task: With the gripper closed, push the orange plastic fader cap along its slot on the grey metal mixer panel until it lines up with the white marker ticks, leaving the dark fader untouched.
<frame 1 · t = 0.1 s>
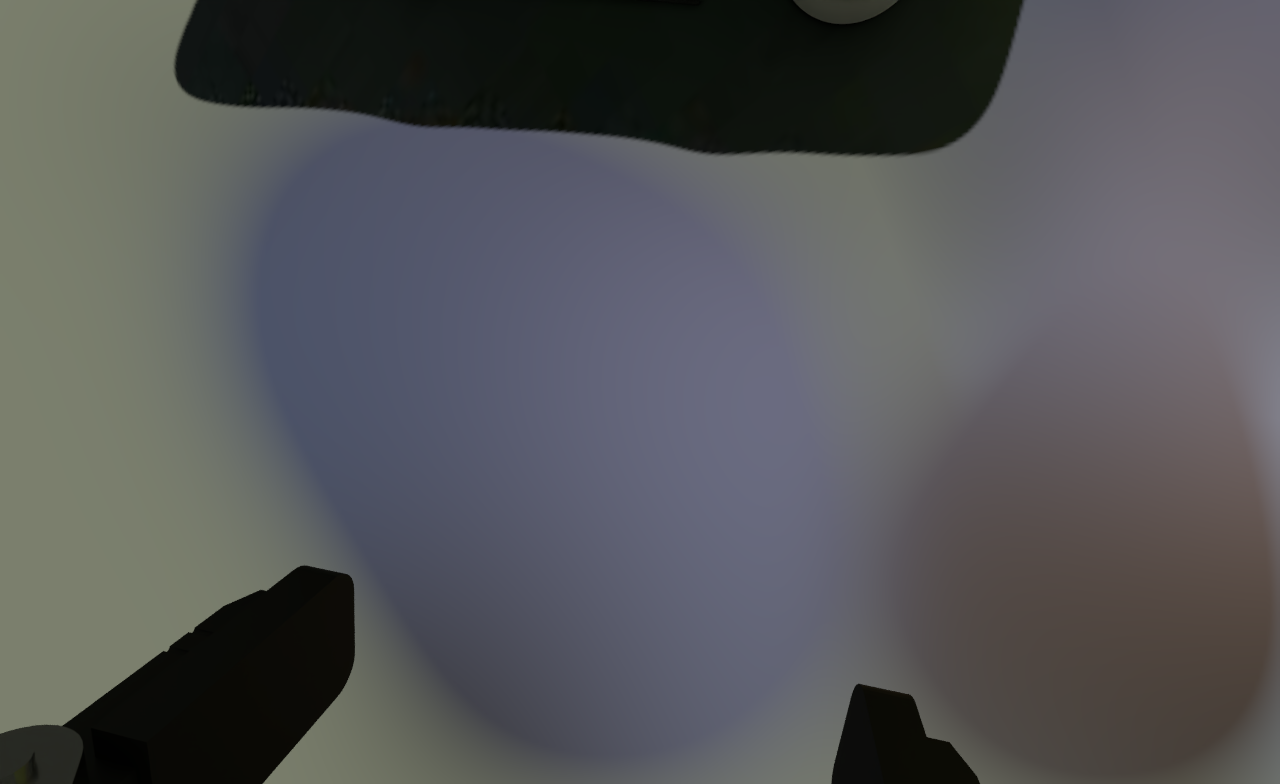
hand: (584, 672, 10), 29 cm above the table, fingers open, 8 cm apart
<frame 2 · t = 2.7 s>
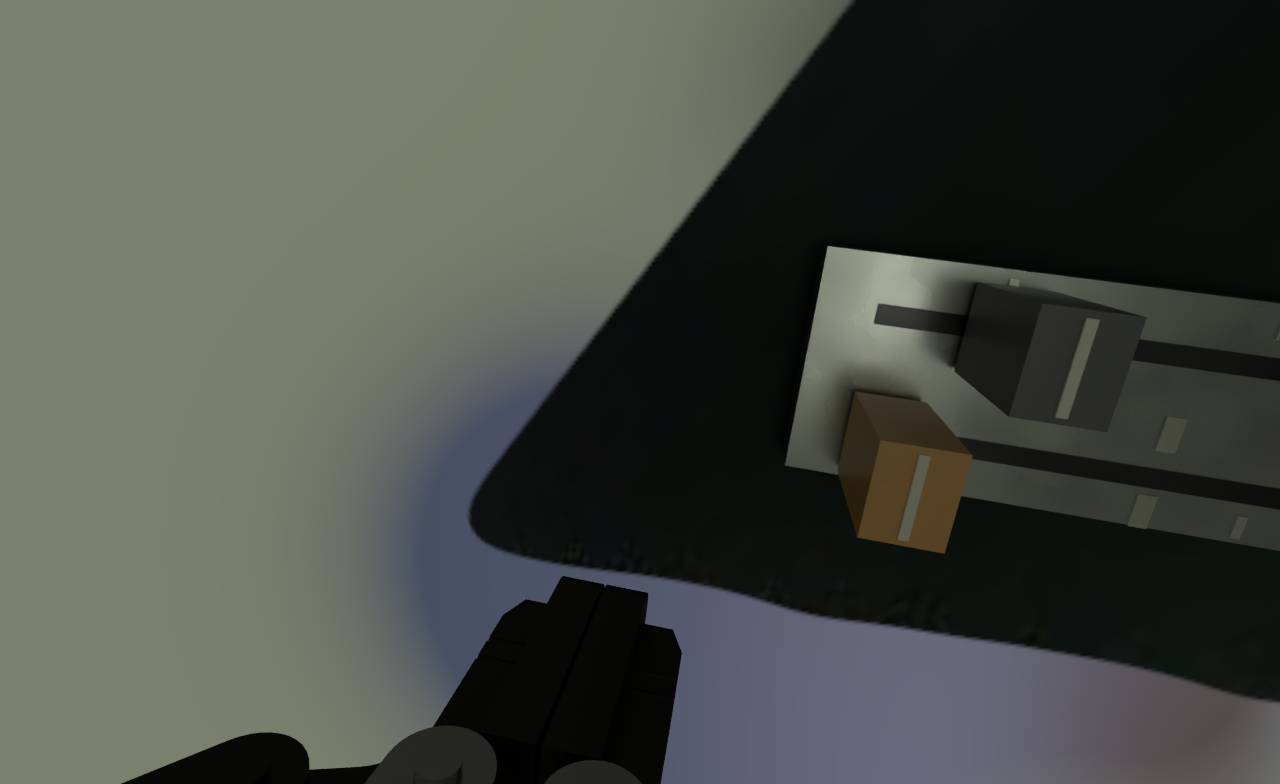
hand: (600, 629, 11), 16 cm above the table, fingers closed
fader: (895, 464, 20), point 5 cm above the table, slide at 0.0 cm
fader2: (1036, 349, 19), point 5 cm above the table, slide at 0.0 cm
console: (1052, 386, 24), on the table
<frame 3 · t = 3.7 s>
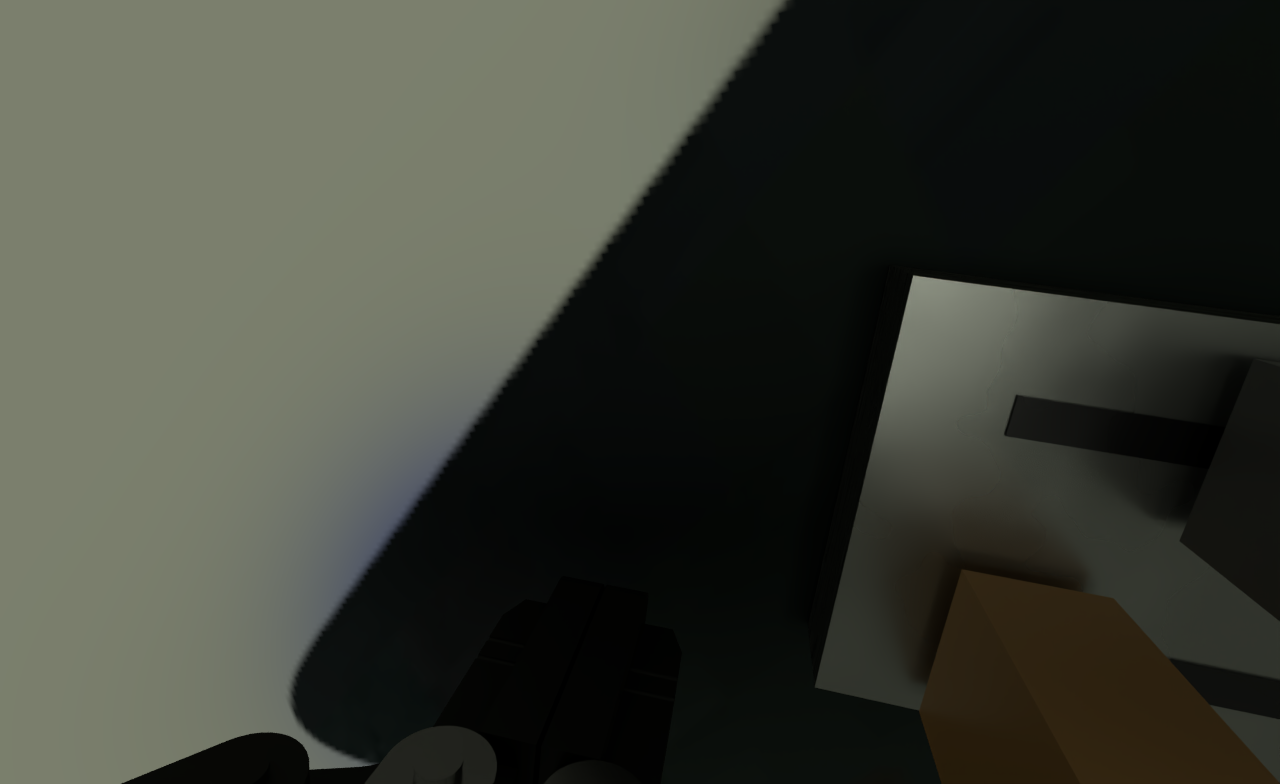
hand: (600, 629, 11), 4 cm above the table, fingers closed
fader: (1078, 779, 9), point 5 cm above the table, slide at 0.0 cm
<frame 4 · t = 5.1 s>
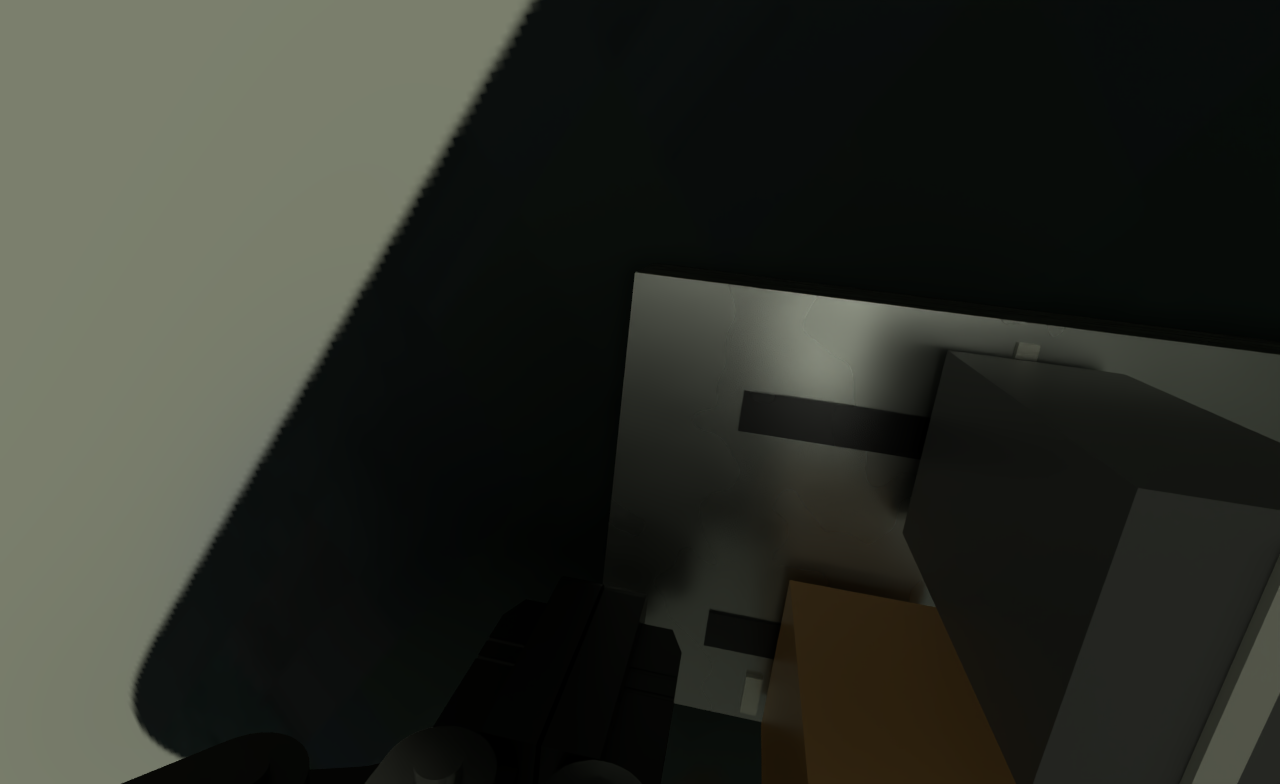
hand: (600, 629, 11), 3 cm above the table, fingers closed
fader2: (1089, 539, 7), point 5 cm above the table, slide at 0.0 cm
console: (1100, 536, 12), on the table
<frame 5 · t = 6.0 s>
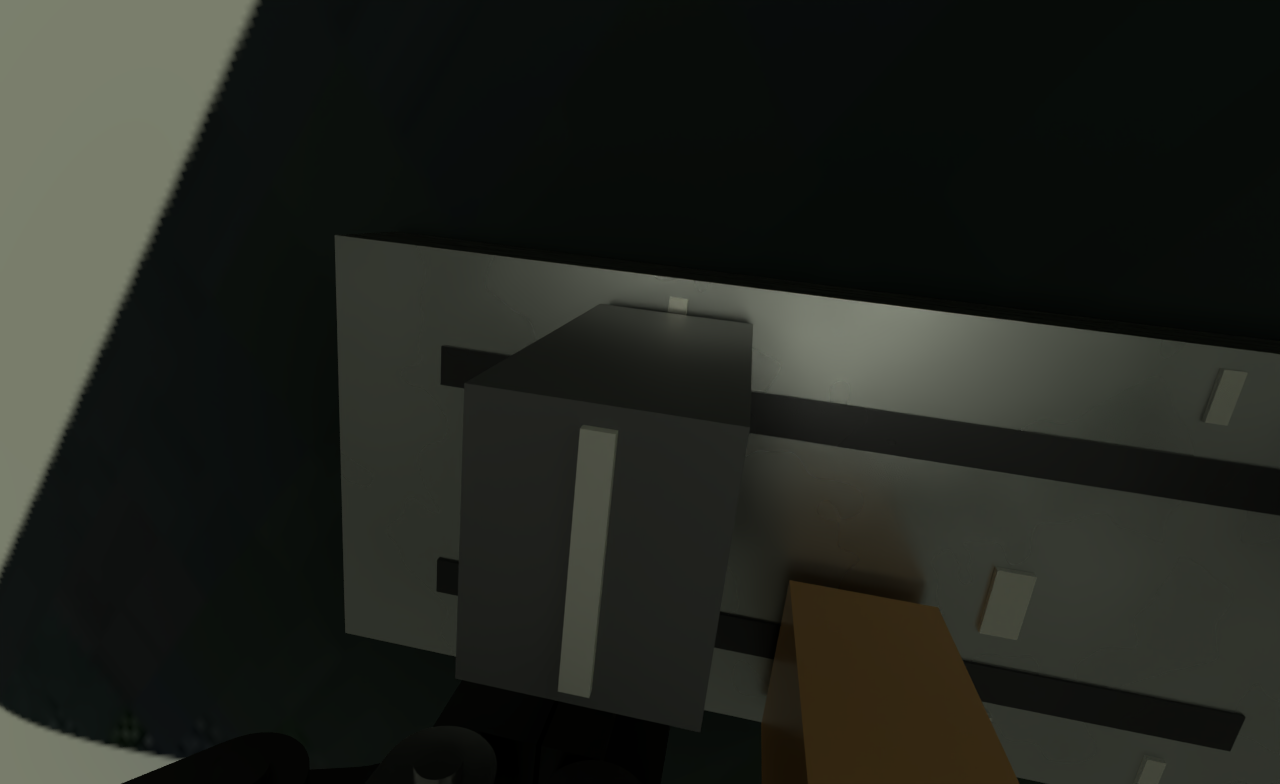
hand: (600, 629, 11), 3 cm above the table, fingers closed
fader2: (636, 463, 8), point 5 cm above the table, slide at 0.0 cm
console: (817, 489, 13), on the table
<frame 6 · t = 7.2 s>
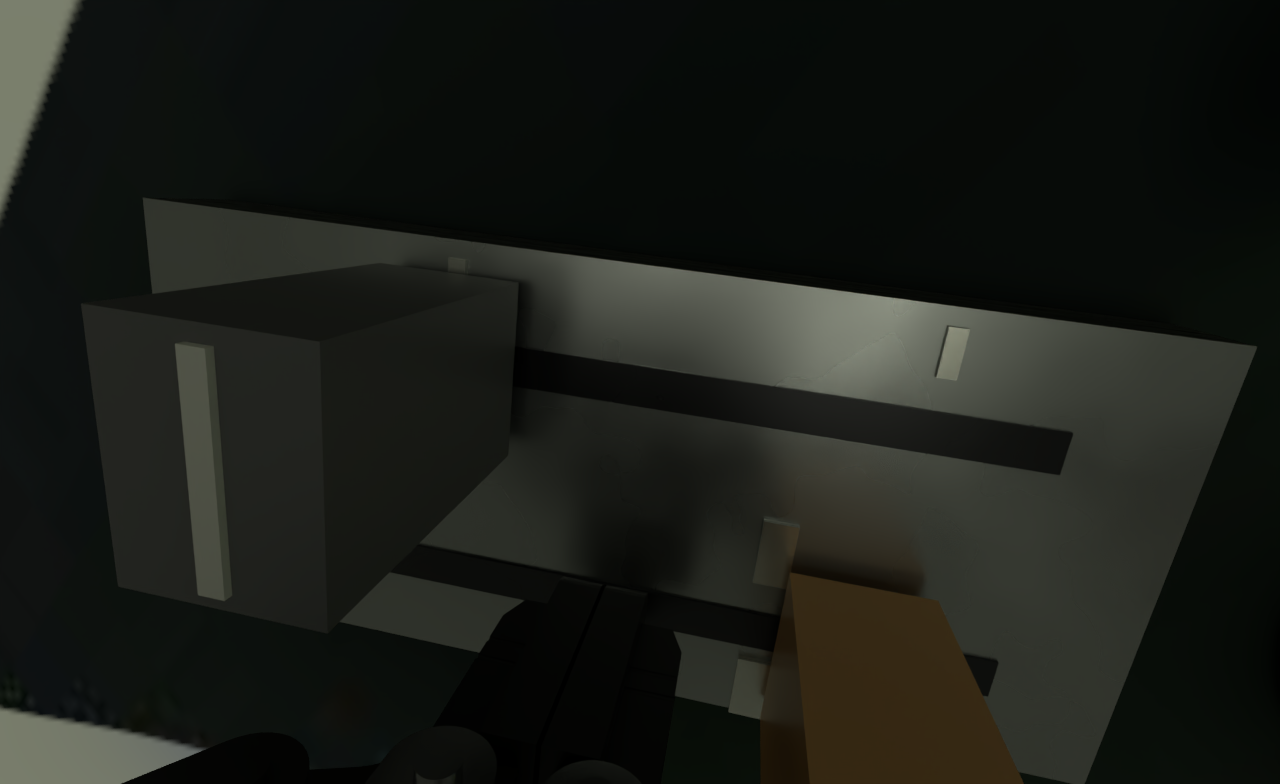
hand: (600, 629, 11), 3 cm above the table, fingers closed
fader2: (357, 403, 9), point 5 cm above the table, slide at 0.0 cm
console: (631, 451, 13), on the table
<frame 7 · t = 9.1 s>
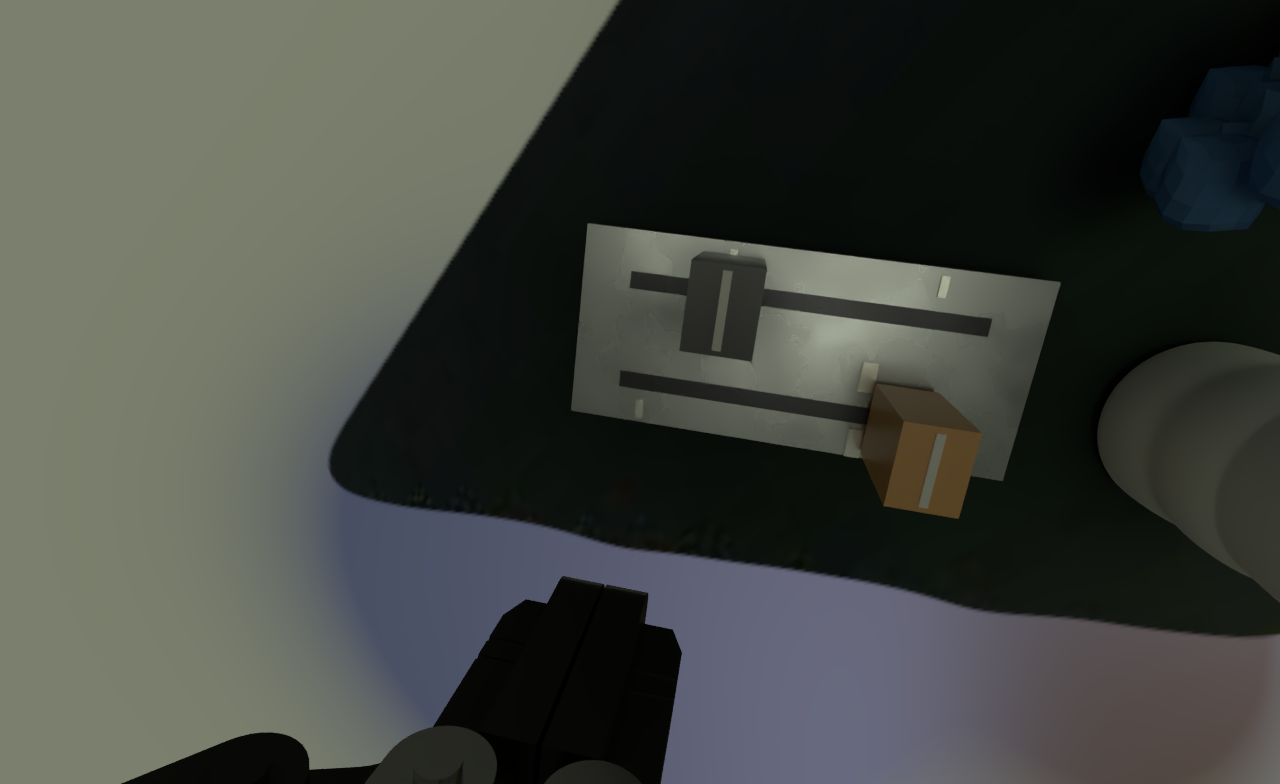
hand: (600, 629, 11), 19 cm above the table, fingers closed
fader: (913, 445, 23), point 5 cm above the table, slide at 10.5 cm
fader2: (725, 301, 23), point 5 cm above the table, slide at 0.0 cm
console: (791, 342, 28), on the table
water bottle: (1182, 422, 27), on the table
grapes: (1226, 130, 24), on the table
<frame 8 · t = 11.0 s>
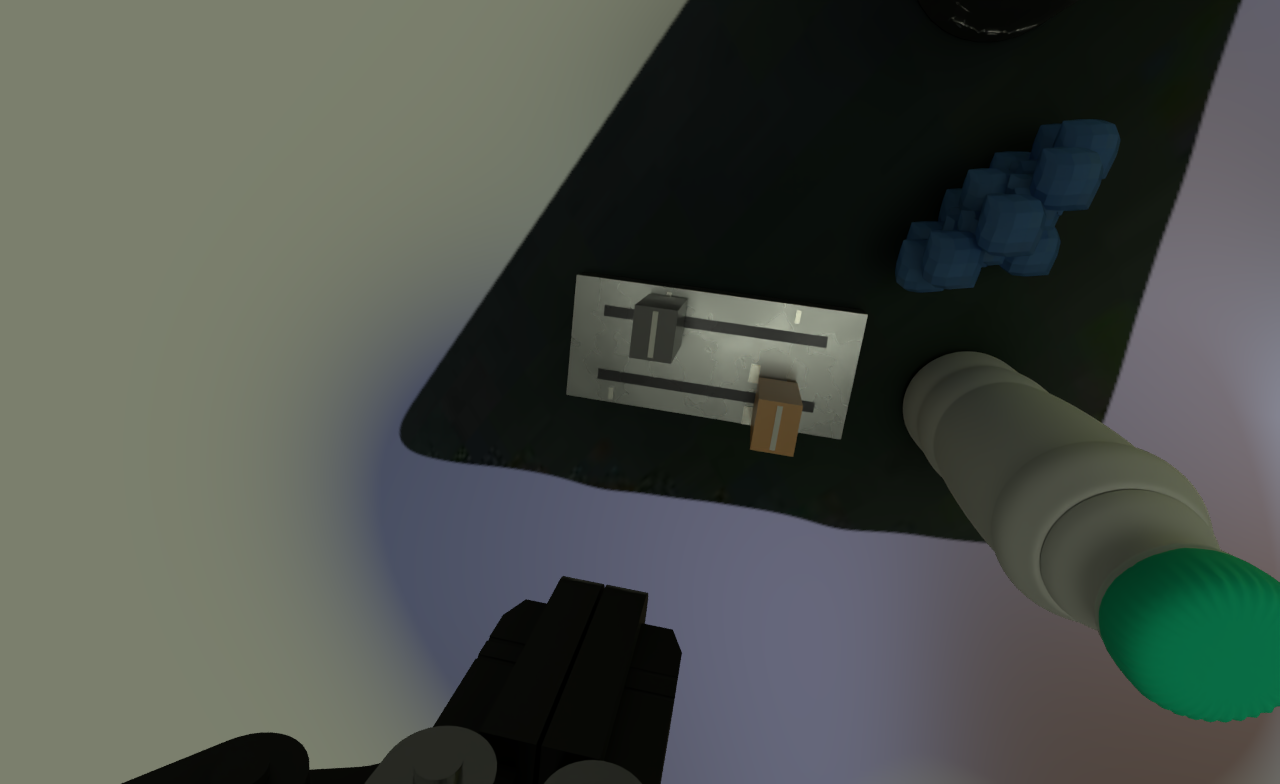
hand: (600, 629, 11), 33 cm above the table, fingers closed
fader: (774, 414, 38), point 5 cm above the table, slide at 10.5 cm
fader2: (659, 327, 38), point 5 cm above the table, slide at 0.0 cm
console: (710, 350, 43), on the table
water bottle: (957, 402, 41), on the table
grapes: (969, 221, 39), on the table
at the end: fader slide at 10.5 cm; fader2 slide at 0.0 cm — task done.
